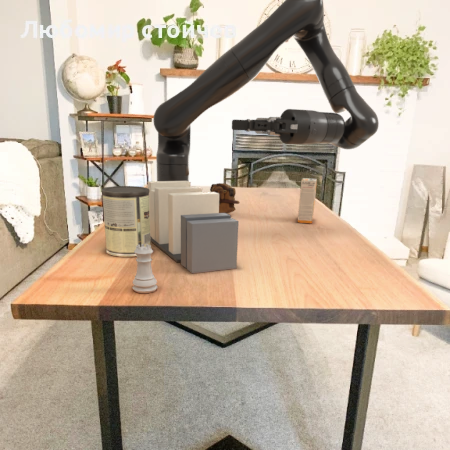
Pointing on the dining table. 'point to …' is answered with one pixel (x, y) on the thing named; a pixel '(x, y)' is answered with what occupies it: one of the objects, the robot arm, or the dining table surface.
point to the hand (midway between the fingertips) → (241, 124)
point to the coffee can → (126, 219)
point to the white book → (187, 212)
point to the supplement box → (307, 200)
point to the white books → (164, 211)
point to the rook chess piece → (144, 270)
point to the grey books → (209, 242)
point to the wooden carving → (225, 197)
